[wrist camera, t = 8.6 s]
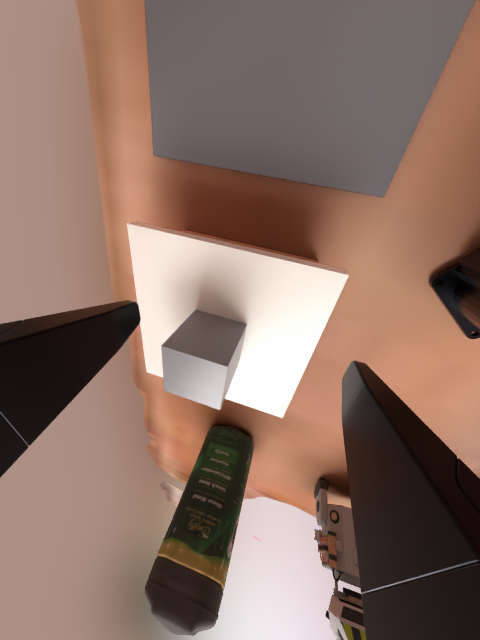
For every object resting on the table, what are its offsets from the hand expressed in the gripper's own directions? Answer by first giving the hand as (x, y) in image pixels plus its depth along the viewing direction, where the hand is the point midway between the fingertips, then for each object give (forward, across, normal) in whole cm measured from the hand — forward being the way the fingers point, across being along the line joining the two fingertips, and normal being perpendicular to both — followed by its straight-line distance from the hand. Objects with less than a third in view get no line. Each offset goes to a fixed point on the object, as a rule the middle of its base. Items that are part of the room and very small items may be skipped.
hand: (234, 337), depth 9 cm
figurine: (+12, -19, +36) cm, 42 cm away
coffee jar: (+12, +1, +31) cm, 33 cm away
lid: (+7, +3, +5) cm, 9 cm away
